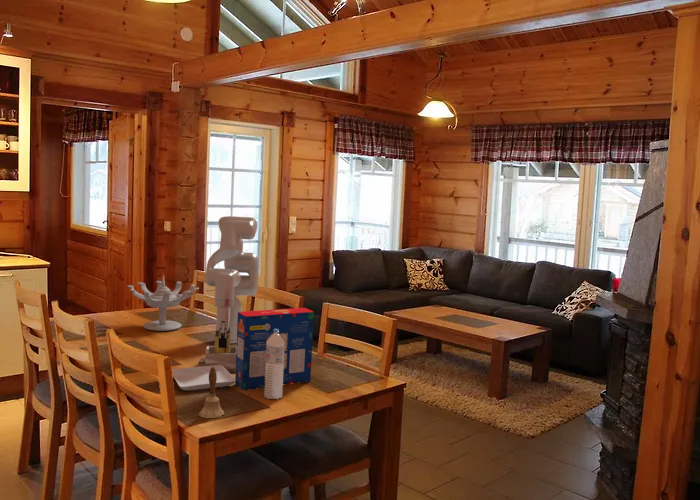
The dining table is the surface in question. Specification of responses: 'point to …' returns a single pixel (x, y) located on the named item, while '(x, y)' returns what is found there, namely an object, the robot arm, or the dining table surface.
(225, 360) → the bottle caddy
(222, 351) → the sauce bottle
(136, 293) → the candelabra
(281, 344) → the water bottle
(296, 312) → the blue cardboard box
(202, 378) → the salad plate
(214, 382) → the hand bell
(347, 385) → the dining table surface
